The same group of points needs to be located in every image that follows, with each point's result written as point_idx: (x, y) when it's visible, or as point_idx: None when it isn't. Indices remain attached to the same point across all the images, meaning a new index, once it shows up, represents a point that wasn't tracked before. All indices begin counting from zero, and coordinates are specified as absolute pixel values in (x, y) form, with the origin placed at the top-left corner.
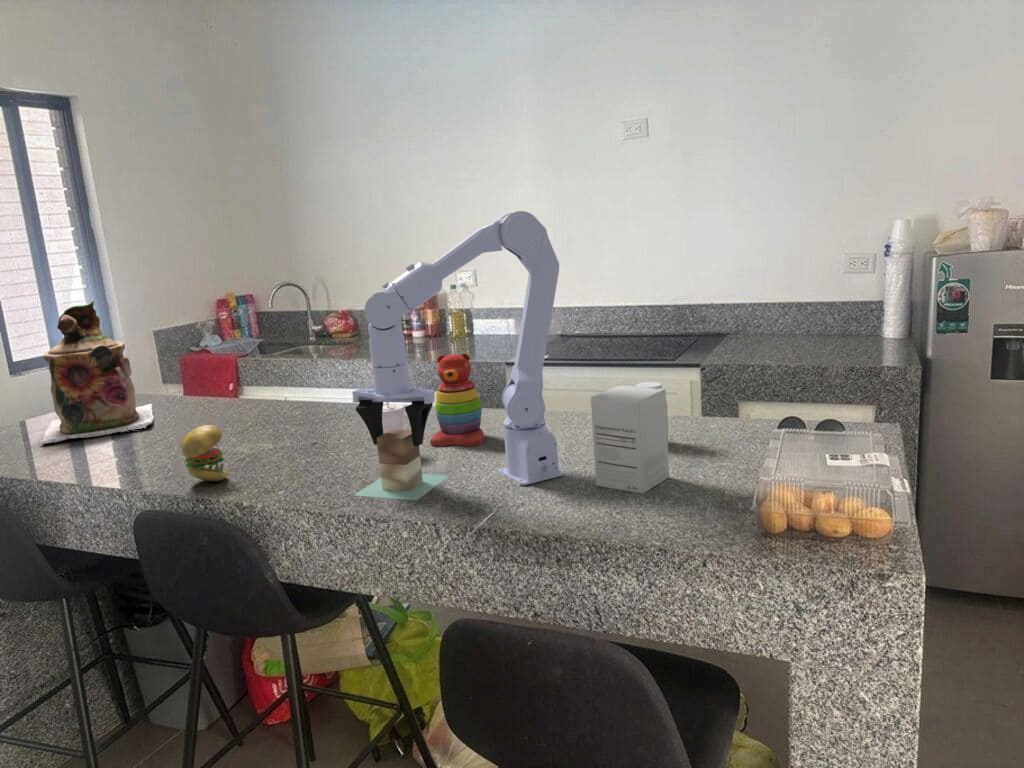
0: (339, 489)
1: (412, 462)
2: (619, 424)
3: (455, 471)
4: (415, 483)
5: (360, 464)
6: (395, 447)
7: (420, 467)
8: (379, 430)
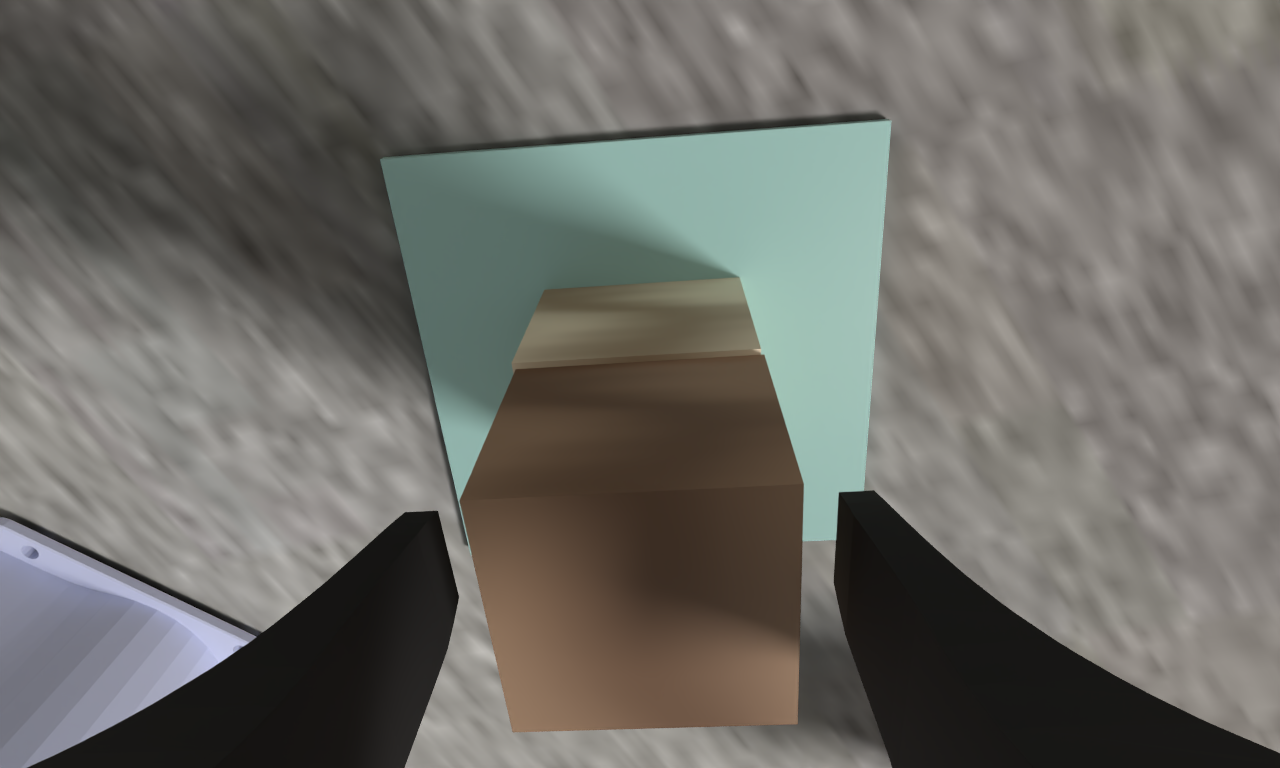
0: (1073, 230)
1: None
2: None
3: None
4: None
5: (1130, 620)
6: (576, 439)
7: None
8: (872, 644)
